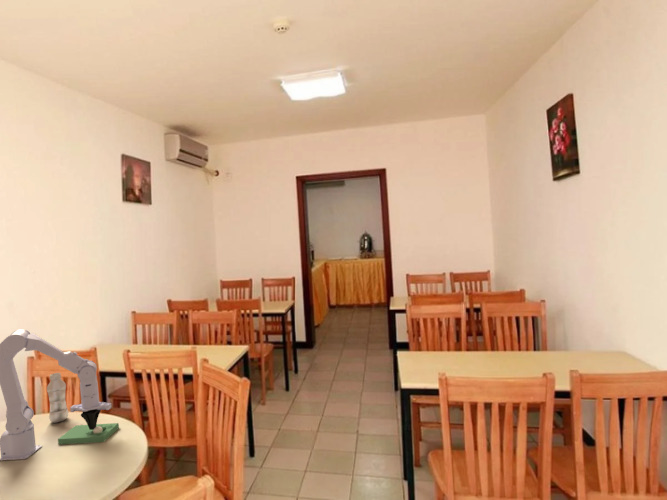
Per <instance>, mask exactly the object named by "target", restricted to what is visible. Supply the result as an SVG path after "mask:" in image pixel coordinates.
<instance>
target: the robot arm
mask: <svg viewBox="0 0 667 500" xmlns="http://www.w3.org/2000/svg"><path fill="white" fill-rule="evenodd" d="M22 350H24V352H29V351H37V352H39V353H41V354H44V355H46V356H48V357H50V358H53V359H54V360H56V361H57V363H58V366H60V367H61V368H64V369H65V370H67V371H69V372H71V373H72V374H77V377H78V379H79V389H80V401H81V403H80V404H73V405H72V406H70V407H69V408H70V413H74V412H82V413H80V416H81V418H82V419H83V420H84V421H85V422H86V425H88V427H89V429H90V430H93V429H94V428H95V427H96V424H98V420H99V419H98V418H99V417H100V413H101V411H102V410H106V411H109V410H111V409H112V403H111V402H104V401H100V393H99V385H98V384H99V382H98V375H97V370H98V369H97V368H98V367H97V364H96V363H95V362H94V361H93V360H89V359H88V358H83V357H82V356H80V355H78V352H77V351H73V352H72V351H64V350H61V349H60V348H59V347H56V346H55V345H53V344H52V343H50V342H48V341H47V340H45V339H44V338H42V337H40V336H38V335H37V334H36V333H34V332H30V331H29V330H27V329H23V328H20V329H17V330H14V331H13V332H12V333H11V334H9V335H8V336H6V337H5V338H4V339H3V340H2V341H1V342H0V389H1V393H2V396H3V399H4V403H5V406H6V412H5V413H6V414H5V416H6V417H5V418H6V423H5V431H4V432H3V433H2V434H1V436H0V461H8V460H9V461H12V460H14V461H15V460H26V459H28V458H29V457H30V456H32V455H33V454H35V452H37V451H39V450H40V449H41V448H42V447H43V445H42V444H39V445H37V444H36V435H35V426H34V425H35V424H34V423H33V422H32V421H31V420H32V419H33V417H34V413H35V412H34V409H33V408H32V407H30V406H29V402H28V401H27V400H26V399H25V397H24V394H23V390H22V387H21V383H20V380H19V376H18V373H17V370H16V369H17V368H16V365H15V361H14V358H15V356H16V355H17V354H18V353H19V352H22Z"/></svg>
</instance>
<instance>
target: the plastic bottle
mask: <svg viewBox="0 0 667 500" xmlns="http://www.w3.org/2000/svg"><path fill="white" fill-rule="evenodd" d="M66 390H67V384H66V382H65V381H64V380H63V379H62V375H61V372H55V373H51V374H49V383H48V384H47V386H46V391H47V397H48V401H49V413H48V419H49V421H50V422H51V423H55V424H56V423H60V422H63V421H65V420H67V418H68V416H69V410H68V407H67V402H66Z"/></svg>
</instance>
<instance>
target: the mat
mask: <svg viewBox="0 0 667 500" xmlns="http://www.w3.org/2000/svg"><path fill="white" fill-rule="evenodd" d="M97 426H100V427H102V429H103V431H102V432H101V433H95V434H93V430H94V429H93V430H90V429H89V427H88V425H87V424H80V425H79V424H78V425H74V426H73V427H71V428H70V429H69V430H68V431H66V432H65V433H64V434H63V435H61V436H60V437H59V438H57V444H58V445H69V444H70V445H71V444H72V445H73V444H86V443H87V444H88V443H89V444H90V443H105V442H106V441H107V440H108V438H110V437H111V436H112V435H113V434H114V433H115V432H116V431H117V430H118V429H119V428H120V426H119V422H117V423H116V422H114V423H97V424H96V427H97Z"/></svg>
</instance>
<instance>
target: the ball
mask: <svg viewBox="0 0 667 500" xmlns="http://www.w3.org/2000/svg"><path fill="white" fill-rule="evenodd" d="M102 431H103V429H102V427H100V426H97V427H95V428H94V430H93V434H95V433H101V432H102Z"/></svg>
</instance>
